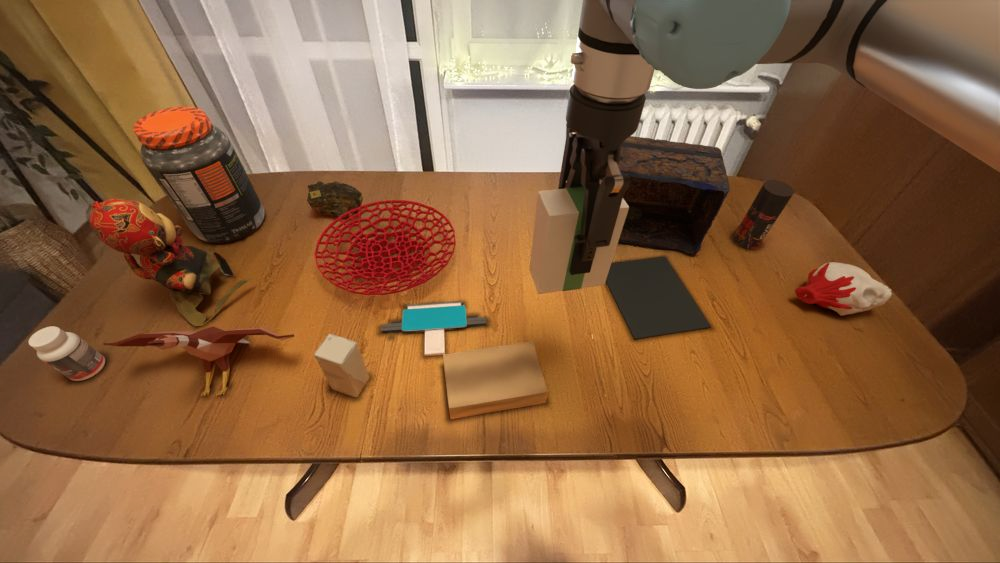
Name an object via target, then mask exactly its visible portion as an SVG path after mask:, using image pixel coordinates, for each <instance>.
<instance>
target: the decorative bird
mask: <svg viewBox="0 0 1000 563" xmlns="http://www.w3.org/2000/svg"><path fill="white" fill-rule="evenodd" d="M248 336H268V337H271V338H273V339H276V340H279V341H284V340H288V339H293V338H295V334H293V333H292V334H285V335H279V334H278V333H276V332H274V331H272V330H269V329H267V328H265V327H247V328H233V329H228V330H227V329H226V330H224V329H221V328H219V327H216V326H214V325H212V326H210V327H207V328H204V329H201V330H198V331H195V330H194V331H193V330H192V331H191V330H177V331H175V330H174V331H173V330H172V331H157V332H146V333H138V334H135V335H132V336H130V337H127V338H124V339H121V340H119V341H115V342H103V343H102V344H103V345H104V346H111V347H156V348H157V349H160V350H162V351H163V350H164V351H165V350H170V349H172V348H182V349H185V350H186V352H187V353H188V354H189V355H192V356H194V357H197V358H200V359H201V362H202V364H203V368H204V371H205V390H204V391H203V392H202V393H201V394H200V397H206V396H207V397H209V395H210V392H211V387H210V386H211V383H212V380H213V376H214V373H215V365H217V366H218V368H219V369H220V370H221V372H222V389H221V390H220V391H218V392H217V393H216V394H215V396H218V395H219V397H220V396H222V394H223V396H225V395H226V394H225V393H226V392H227V390H228V388H229V386H227V383H228V380H229V376H230V371H231V367H230V353H232V352H233V350H234V347H235V346H236V345H250V341H249V340H248V339H245V338H246V337H248Z"/></svg>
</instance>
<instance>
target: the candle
mask: <svg viewBox="0 0 1000 563" xmlns="http://www.w3.org/2000/svg"><path fill="white" fill-rule="evenodd" d="M794 291H795V292H794V293H795V295H796V298H797V299H799V300H801V302H803V303H806V304H808V305H813V304H816V305H818V306H819V307H822V308H824V309H827V310H829V309H830V310H832V311H833V312H836V313H837V314H838V315H839V316H841V317H842V316H846V315H853V314H857V313H862V312H867V311H870V310H872V309H874V308H877V307H881V306H883V305H885V304H886V303H887V302H888V301H889V300H890V298H891V297H892V295H893V293H892V288H889V286H887V285H885V284H883V282H881V281H878V280H876V279H874V278H873V277H871V275H870V274H869V273H868V272H867V271H865V270H863V268H861V267H858V266H856V265H853V264H850V263H843V262H838V261H837V262H835V261H830V262H826V263H824V264H822V265H820V266H819V267H818V268H814V269H812V270H811V271H810V272H809V273H808V277H807V283H806V285H805V286H799V287H797V288H795V290H794Z"/></svg>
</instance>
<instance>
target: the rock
mask: <svg viewBox="0 0 1000 563" xmlns="http://www.w3.org/2000/svg"><path fill="white" fill-rule="evenodd" d="M307 189H308V190H307V191H308V193H307V199H306V202H307V203H308V204H309V206H310V208H311V209H316V210H317V211H318V212H319V214H321V215H322V216H324V215H325V216H328V215H329V216H332V217H333V216H334V217H337V218H338V217H340V216H341V215H343V214H345V213H346V212H348V211H350V210H353V209H355V208H358V207H360V206H362V205H363V202H364V196H363V195H362V192H361V191H360V190H358V188H356V187H354V186H352V185H350V184H348V183H344V182H339V181H333V182H327V183H325V182H323V181H321V180H319V181H317V182H316V183H313V184H312V183H311V184H308V185H307ZM357 213H359V210H358V211H356V212H354V213H351V216H353V215H355V214H357ZM349 217H350V216H349V215H348V216H346V218H349Z"/></svg>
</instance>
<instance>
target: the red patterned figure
mask: <svg viewBox="0 0 1000 563" xmlns="http://www.w3.org/2000/svg"><path fill="white" fill-rule="evenodd" d="M90 207H91V208H90V211H89V214H88V219H89V223H90V226H91V228H92V230H93V232H94V233H95V235H96V236H97V237H98V239H99V240H100V241H101V242H103V243H104V245H106V246H108V247H110V248H111V249H112V250H114V251H116V252H119V253H123V258H124V260H125V261H126V262H127V265H128V266H129V267H130V270H131V271H132V272H133V273H134V274H135V275H136V276H137V277H139V278H141V279H145V280H151V281H154V282H156V283H159V284H160V285H161V286H163V287H164V288H166V289H167V290H168V293H169V297H170V299H171V300H172V302H173V303H174V305H175V307H176V309H177V311H178V313H179V314H181V315H182V316H183V317H184V318H185V319H186V321H187V322H188V323H189V324H191V325H192V326H193V327H201V326H204V325H205V324H207V323H208V322H210V320H212V319H213V318H214V317H215V316H217V314H218V313H219V312H220V311H221V309H223V307H224V306H225V304H226V302H227V301H228V300H229V298H230V297H231V296H232V295H233V294H234V293H235V292H237V290H238V289H240V288H241V287H242V286H244V285H245V284H247V283H248V282H250V281H251V280H252V278H244V279H242V280H239V281H237V282H236V283H235V284H234V285H233V286H232V287H231V288H230V290H229V291H227V292H226V294H225V295H224V296H222V297H221V298H219V299H218V300H217V301H216V303H215V308H214V312H213V314H212V316H211V317H210V318H209V319H208V320H207V321H206V319H207V317H208V315H207V314H205V313H202V312H200V311H198V310H197V309H196V308H197V307H198V305H199V304H200V303H201V302H202V301H203V299H204V296H203V295H211V293H212V289H211V284H210V276H211V275H212V274H213V273H214V272H216V270H218V269H219V270H220V272H221V273H222V274H223V275H224V276H234V273H233V271H232V268H231V267H230V264H229V263H228V261H227V260H226V258H224V257H223V256H222V255H221V254H220V253H218V252H215V251H211V250H206V251H205V250H204V249H201V248H198V247H196V246H192V245H184V242H183V240H182V238H181V235H182V234H183V228H182V227H181V225H177V224H176V225H175V224H174V223H173V221H172V220H171V219H170V218H169V217H168V216H167V215H166V214H163V213H160V212H158V213H157V212H154V210H153V209H151V208H150V207H149V206H147V205H145V204H144V203H142V202H140V201H136V200H133V199H129V198H110V199H107V200H103V201H101V202H99V201H98V200H94V201H93V202H92V203H91V205H90ZM134 255H138V256H139V262H140V264H139V263H138V261H137V260H136V258H135V256H134ZM214 257H215V258H214ZM202 294H203V295H202ZM175 297H176V298H177V299H178V300H175Z"/></svg>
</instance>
